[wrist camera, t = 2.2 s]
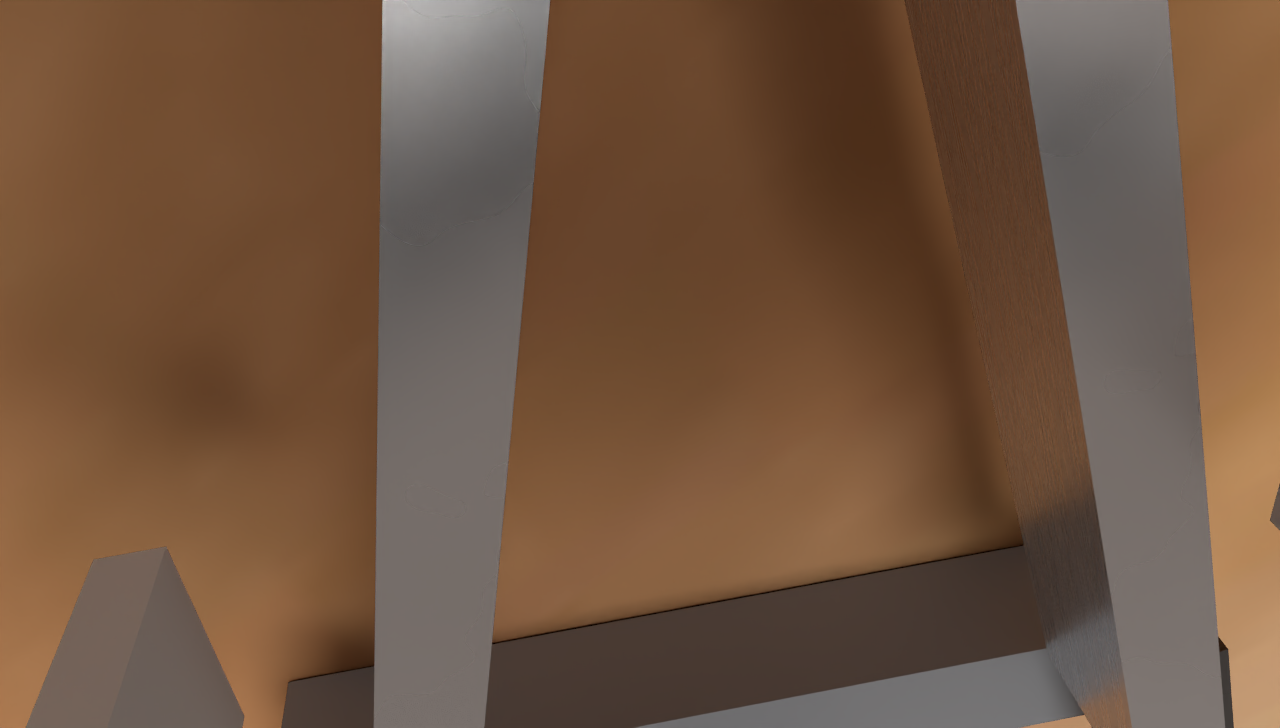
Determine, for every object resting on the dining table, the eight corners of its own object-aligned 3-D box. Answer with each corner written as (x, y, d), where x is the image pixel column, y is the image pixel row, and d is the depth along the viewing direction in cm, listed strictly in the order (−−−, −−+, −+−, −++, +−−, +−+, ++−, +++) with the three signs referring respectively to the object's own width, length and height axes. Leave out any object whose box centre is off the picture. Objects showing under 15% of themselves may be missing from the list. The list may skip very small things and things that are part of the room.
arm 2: (780, -565, 9) (910, -654, 6) (1064, -693, 9) (1313, -837, 6) (1070, 758, 19) (1162, 920, 17) (1201, 712, 19) (1314, 870, 17)
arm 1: (247, -601, 8) (158, -715, 6) (561, -540, 9) (606, -621, 6) (306, 888, 18) (283, 1084, 16) (452, 881, 19) (453, 1070, 16)
